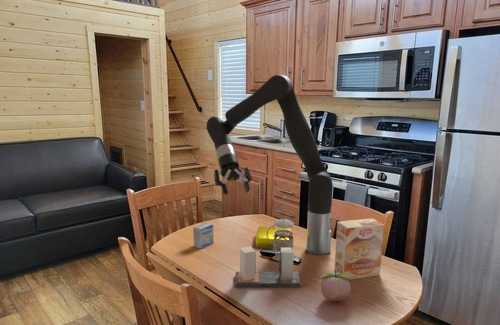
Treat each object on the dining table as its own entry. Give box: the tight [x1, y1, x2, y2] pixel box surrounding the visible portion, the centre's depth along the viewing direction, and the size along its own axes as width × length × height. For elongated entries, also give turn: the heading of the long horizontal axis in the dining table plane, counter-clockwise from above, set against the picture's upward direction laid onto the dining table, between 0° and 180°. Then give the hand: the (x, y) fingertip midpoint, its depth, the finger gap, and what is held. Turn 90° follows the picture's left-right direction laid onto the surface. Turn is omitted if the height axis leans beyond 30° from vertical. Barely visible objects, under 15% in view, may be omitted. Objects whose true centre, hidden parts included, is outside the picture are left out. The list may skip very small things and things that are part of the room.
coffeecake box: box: [333, 217, 385, 280], centre depth 126 cm, size 15×7×20 cm, turn 105°
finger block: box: [239, 246, 257, 281], centre depth 120 cm, size 4×4×10 cm
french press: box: [267, 195, 295, 262], centre depth 139 cm, size 10×12×25 cm
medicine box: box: [193, 222, 215, 250], centre depth 150 cm, size 8×4×9 cm, turn 143°
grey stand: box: [234, 248, 302, 289], centre depth 120 cm, size 22×8×12 cm, turn 92°
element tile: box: [255, 225, 292, 249], centre depth 156 cm, size 15×15×5 cm
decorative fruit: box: [319, 271, 352, 302], centre depth 109 cm, size 9×8×10 cm
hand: (237, 192), depth 133 cm, fingers open, 8 cm apart
